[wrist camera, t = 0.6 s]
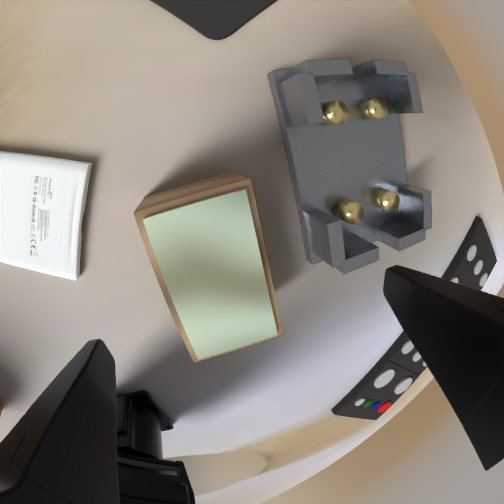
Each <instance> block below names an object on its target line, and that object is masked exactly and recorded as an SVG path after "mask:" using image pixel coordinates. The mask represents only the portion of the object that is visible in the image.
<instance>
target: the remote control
mask: <svg viewBox="0 0 504 504" xmlns="http://www.w3.org/2000/svg"><path fill="white" fill-rule="evenodd" d="M496 262H497V259H496V256H495V253H494V250H493V247H492V244H491V242H490V239H489V236H488V233H487V231H486V228H485V226H484V223H483V221H482V218H480V217H477V216H476V217H475V219H474V221H473V223H472V225H471V227H470V229H469V231H468V233H467V235H466V237H465V239H464V240H463V242H462V244H461V246H460V248H459V249H458V251H457V253H456V255H455V256H454V258H453V260H452V261H451V263H450V265H449V266H448V268H447V270H446V271H445V273H444V274H443V276H442V279H445V280H448V281H452V282H455V283H458V284H461V285H464V286H467V287H471V288H474V289H477V290H480V291H481V289H482V288H483V286H484V284H485V283H486V281H487V279H488V277H489V275H490V273H491V271H492V270H493V268H494V266H495V264H496ZM426 367H427V365H426V363H425V362H424V360H423V359H422V357H421V356H420V354H419V353H418V351H417V350H416V348H415V347H414V345H413V344H412V342H411V341H410V339H409V338H408V336H407V335H406V333H405V332H404V331H403V332H402V334H401V335H400V336H399V337H398V339H397V340H396V341H395V342H394V343H393V345H392V346H391V347H390V348H389V349H388V351H387V352H386V353H385V354H384V355H383V356H382V358H381V359H380V360H379V361H378V362H377V363H376V364H375V366H374V367H373V368H372V369H371V370H370V371H369V372H368V373H367V374H366V375H365V376H364V378H363V379H362V380H361V381H360V382H359V383H358V384H357V385H356V386H355V387H354V388H353V389H352V390H351V391H350V392H349V393H348V394H347V395H346V396H345V397H344V398H343V399H342V400H341V401H340V402H339V403H338V404H337V405H336V406H335V407H334V408H332V409H331V410H332V412H333V413H334V415H340V416H347V417H354V418H362V419H371V420H377V419H378V418H379V417H380V416H381V415H382V414H383V413H384V412H385V411H386V410H387V409H388V408H389V407H390V406H391V405H393V404H394V402H395V401H396V400H397V399H398V398H399V397H400V396H401V395H402V394H403V393H404V392H405V391H406V390H407V389H408V388H409V387H410V386H411V385H412V384H413V382H414V381H415V380H416V379H417V378H418V377H419V375H420V374H421V373H422V372H423V371H424V370H425V368H426Z"/></svg>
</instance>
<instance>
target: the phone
mask: <svg viewBox="0 0 504 504" xmlns="http://www.w3.org/2000/svg"><path fill="white" fill-rule="evenodd" d="M150 1H152V2H154V3H155V4H157V5H159V6H160V7H162V8H164V9H165V10H167V11H168V12H170V13H171V14H173V15H175V16H176V17H178V18H179V19H181V20H182V21H184V22H185V23H186V24H188V25H189V26H191V27H192V28H194V29H195V30H196V31H198V32H199V33H201V34H202V35H204V36H205V37H207V38H209V39H213V40H221V39H225V38H227V37H228V36H230V35H231V34H233V33H234V32H235V31H236V30H238V29H239V28H240V27H241V26H243V25H244V24H245V23H246V22H248V21H249V20H250V19H252V18H253V17H254V16H256V15H257V14H258V13H260V12H261V11H263V10H264V9H265V8H267V7H268V6H269V5H271V4H272V3H274V2H275V1H276V0H150Z"/></svg>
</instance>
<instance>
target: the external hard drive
mask: <svg viewBox="0 0 504 504" xmlns="http://www.w3.org/2000/svg"><path fill="white" fill-rule="evenodd" d="M91 169H92V163H87V162H81V161H74V160H68V159H61V158H54V157H47V156H39V155H32V154H23V153H14V152H4V151H0V262H3V263H7V264H10V265H14V266H18V267H22V268H26V269H30V270H33V271H38V272H42V273H46V274H50V275H54V276H59V277H63V278H67V279H72V280H78V278H79V276H80V257H81V242H82V232H81V229H82V220H83V214H84V212H85V205H86V198H87V192H88V186H89V180H90V174H91Z"/></svg>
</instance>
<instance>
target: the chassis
mask: <svg viewBox="0 0 504 504" xmlns="http://www.w3.org/2000/svg"><path fill="white" fill-rule="evenodd" d="M267 75H268V79H269V83H270V87H271V90H272V94H273V98H274V102H275V106H276V110H277V115H278V119H279V123H280V127H281V131H282V136H283V140H284V144H285V149H286V153H287V158H288V163H289V167H290V172H291V177H292V182H293V187H294V192H295V197H296V202H297V207H298V212H299V217H300V223H301V228H302V234H303V240H304V245H305V251H306V257H307V260H308V261H309V262H310V263H311V264H315V263H318V262H321V261H323V260H324V261H325V262H326V263H327V264H329V265H330V266H331V267H332V268H334V267H336V268H337V269H338V270H339V271H341V272H342V273H343V274H346V273H349V272H351V271H354V270H356V269H358V268H361V267H363V266H366V265H368V264H371V263H373V262H375V261H378V260H379V249H378V247H377V246H375V245H373V244H372V242H374V241H377V240H379V241H381V242H383V243H385V244H387V245H389V246H390V247H392V248H394V249H396V250H398V251H401V250H403V249H406V248H408V247H410V246H412V245H415V244H417V243H419V242H421V241H423V240H425V230H427V229H430V228H432V205H431V191H428V190H425V189H421V188H417V187H414V186H410V185H407V174H406V164H405V155H404V147H403V139H402V133H401V126H400V120H399V113H423V110H422V104H421V99H420V94H419V89H418V85H417V80H416V76H415V73H408V72H407V68H406V64H405V62H395V61H382V60H372V61H369V62H366V63H363V64H360V65H357V66H351V63H350V59H326V60H306V61H304V62H303V63H301V64H299V65H297V66H296V67H294V68H293V69H284V70H275V71H271V72H270V73H269V74H267Z"/></svg>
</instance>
